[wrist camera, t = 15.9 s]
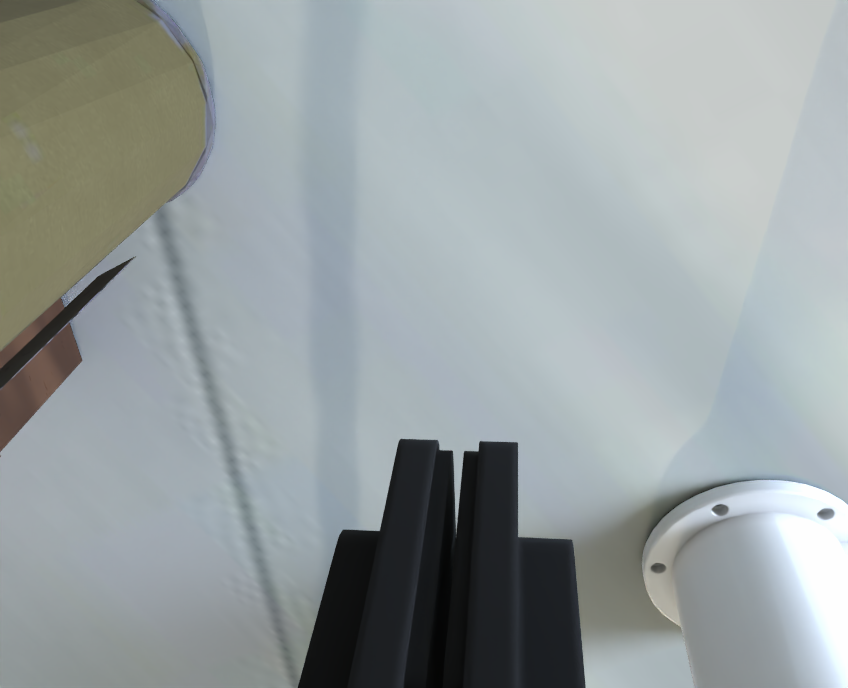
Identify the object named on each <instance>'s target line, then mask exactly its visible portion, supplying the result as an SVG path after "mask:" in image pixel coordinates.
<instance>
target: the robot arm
mask: <svg viewBox="0 0 848 688" xmlns="http://www.w3.org/2000/svg"><path fill="white" fill-rule="evenodd" d="M642 571H643V577H644V582H645V586H646V591H647V593H648V595H649V596H650V598H651V600H652V602H653V604H654V605H655V606H656V607H657V608H658V609H659V611H660V612H661V613H662V614H663V615H664V616H666V617H667V618H668V619H670V620H671V621H672V622H674V623H675V624H677V625H679V626H680V627H681V628H682V632H683V637H684V641H685V646H686V650H687V655H688V660H689V664H690V669H691V673H692V678H693V682H694V687H695V688H848V505H847V504H846V503H845V502H843V501H842V500H840V499H839V498H837V497H835V496H833V495H832V494H830V493H828V492H826V491H824V490H821V489H818V488H815V487H812V486H810V485H807V484H802V483H796V482H790V481H785V480H753V481H743V482H736V483H732V484H728V485H724V486H720V487H716V488H713V489H711V490H708V491H706V492H703V493H700V494H698V495H695V496H694V497H692V498H690V499H689V500H687V501H685V502H683V503H682V504H680V505H678V506H677V507H676V508H674V509H673V510H672V511H671V512H669V513H668V514H667V515H666V516H665V517H663V518H662V520H661V521H660V522H659V523H658V524H657V526H656V527H655V528H654V529H653V531H652V532H651V534H650V536H649V538H648V540H647V542H646V544H645V547H644V551H643V556H642ZM298 688H585V676H584V664H583V652H582V640H581V629H580V617H579V605H578V593H577V581H576V569H575V557H574V548H573V542H572V540H568V539H545V538H522V537H518V443H516V442H483V441H480V443H479V452H474V451H464V458H463V469H462V479H461V490H460V501H459V512H458V523H457V534H456V523H455V493H454V464H453V451H443V450H439V442H438V440H416V439H400V441H399V443H398V447H397V452H396V457H395V462H394V466H393V471H392V476H391V481H390V486H389V490H388V495H387V500H386V505H385V509H384V514H383V519H382V524H381V529H380V531H363V530H343V531H342V532H341V534H340V536H339V539H338V541H337V545H336V548H335V552H334V556H333V559H332V563H331V567H330V570H329V574H328V578H327V582H326V585H325V589H324V593H323V596H322V600H321V604H320V607H319V611H318V615H317V619H316V622H315V626H314V630H313V633H312V637H311V641H310V644H309V648H308V652H307V656H306V659H305V663H304V667H303V670H302V674H301V678H300V682H299V685H298Z"/></svg>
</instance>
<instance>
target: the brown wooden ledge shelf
mask: <svg viewBox="0 0 848 688" xmlns="http://www.w3.org/2000/svg"><path fill="white" fill-rule="evenodd" d="M63 309H64V305H63V302H62V299H61V298H59V299H58V300H57V301H56V302H55V303H54V304H53V305H52V306H51V307H50V308H48V309H47V310H46V311H45V312H44V313H43V314H42V315H41V316H40V317H38V318H37V319H36V320H35V321H34V322H33V323H32V324H31V325H30V326H28V327H27V328H26V329H25V330H24V331H23V332H22V333H21V334H20V335H18V336H17V337H16V338H15V339H14V340H13V341H12V342H11V343H10V344H8V345H7V346H6V347H5V348H4V349H3V350H2V351H1V352H0V369H1V368H2V367H3V366H4V365H5V364H6V363H7V362H8V361H9V360H10V359H11V358H12V357H13V356H14V355H16V354H17V353H18V352H19V351H20V350H21V349H22V348H23V347H24V346H25V345H26V344H27V343H28V342H29V341H30V340H31V339H33V338H34V337H35V336H36V335H37V334H38V333H39V332H40V331H41V330H42V329H43V328H44V327H45V326H46V325H47V324H48V323H49V322H51V321H52V320H53V319H54V318H55V317H56V316H57V315H58V314H59V313H60V312H61V311H62V310H63ZM81 361H82V359H81V356H80V353H79V350H78V347H77V344H76V341H75V338H74V335H73V332H72V329H71V326H70V323H68V324H67V325H66V326H65V327H64V328H63V329H62V330H61V331H60V332H59V333H58V334H57V335H56V336H55V337H54V338H53V339H52V340H51V341H50V342H49V343H48V344H47V345H46V346H45V347H44V348H43V349H42V350H41V351H40V352H39V353H38V354H36V355H35V356H34V357H33V358H32V359H31V360H30V361H29V362H28V363H27V364H26V365H25V366H24V367H23V368H22V369H21V370H20V371H19V372H18V373H17V374H16V375H15V376H14V377H13V378H12V379H11V380H10V381H9V382H8V383H7V384H6V385H5V386H4V387H3V388H2V389H1V390H0V452H1V451H2V449H3V448H4V447H5V446H6V445H7V444H8V443H9V442H10V441H11V439H12V438H13V437H14V436H15V435H16V434H17V433H18V432H19V431H20V429H21V428H22V427H23V426H24V425H25V424H26V423H27V422H28V420H29V419H30V418H31V417H32V416H33V415H34V414H35V413H36V412H37V410H38V409H39V408H40V407H41V406H42V405H43V404H44V403H45V402H46V400H47V399H48V398H49V397H50V396H51V395H52V394H53V393H54V392H55V390H56V389H57V388H58V387H59V386H60V385H61V384H62V383H63V381H64V380H65V379H66V378H67V377H68V376H69V375H70V374H71V373H72V371H73V370H74V369H75V368H76V367H77V366H78V365H79V364H80V363H81ZM0 457H1V456H0Z"/></svg>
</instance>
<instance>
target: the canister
mask: <svg viewBox="0 0 848 688" xmlns="http://www.w3.org/2000/svg"><path fill="white" fill-rule="evenodd" d="M215 127H216V120H215V106H214V102H213V97H212V93H211V89H210V85H209V81H208V78H207V75H206V72H205V69H204V66H203V63H202V61H201V59H200V58H199V56H198V55H197V53H196V52H195V50H194V49H193V48H192V46H191V45H190V43H189V42H188V40H187V39H186V37H185V36H184V34H183V33H182V31H181V30H180V28H179V27H178V26H177V25H176V23H175V22H174V21H173V20H172V19H171V18H170V16H169V15H168V14H167V13H166V12H164V11H163V10H162V9H161V8H160V7H159V6H157V5H156V4H155V3H154V2H153V1H152V0H0V352H1V351H2V350H3V349H4V348H5V347H6V346H7V345H8V344H10V343H11V342H12V341H13V340H14V339H15V338H16V337H17V336H18V335H20V334H21V333H22V332H23V331H24V330H25V329H26V328H27V327H28V326H30V325H31V324H32V323H33V322H34V321H35V320H36V319H37V318H38V317H40V316H41V315H42V314H43V313H44V312H45V311H46V310H47V309H48V308H50V307H51V306H52V305H53V304H54V303H55V302H56V301H57V300H58V299H59V298H61V297H62V296H63V295H64V294H65V293H66V292H67V291H68V290H69V289H71V288H72V287H73V286H74V285H75V284H76V283H77V282H78V281H79V280H81V279H82V278H83V277H84V276H85V275H86V274H87V273H88V272H89V271H91V270H92V269H93V268H94V267H95V266H96V265H97V264H98V263H99V262H101V261H102V260H103V259H104V258H105V257H106V256H107V255H108V254H109V253H110V252H112V251H113V250H114V249H115V248H116V247H117V246H118V245H119V244H120V243H122V242H123V241H124V240H125V239H126V238H127V237H128V236H129V235H130V234H132V233H133V232H134V231H135V230H136V229H137V228H138V227H139V226H140V225H142V224H143V223H144V222H145V221H146V220H147V219H148V218H149V217H150V216H151V215H153V214H154V213H155V212H156V211H157V210H158V209H159V208H160V207H161V206H163V205H164V204H165V203H167V202H170V201H172V200H174V199H175V198H177V197H178V196H180V195H181V194H182V193H184V192H185V191H186V190H187V189H188V188H189V187H190V186H191V185H192V184H193V183H194V182H195V181H196V180H197V178H198V177H199V176H200V174H201V173H202V171H203V168H204V166H205V164H206V162H207V160H208V157H209V155H210V153H211V150H212V148H213V142H214V134H215ZM135 257H136V256H135ZM135 257H133V258H131V259H130V260H128V261H126V262H124V263H122V264H120V265H118V266H116V267H115V268H113V269H111V270H109V271H107V272H105V273H103V274H101V275H100V276H98V277H97V278H96V279H95V280H94V281H93V282H92V283H91V284H90V285H89V286H88V287H87V288H85V289H84V290H83V291H82V292H81V293H80V294H79V295H78V296H77V297H76V298H75V299H74V300H73V301H72V302H71V303H70V304H69V305H67V306H66V307H65V308H64V309H63V310H62V311H61V312H60V313H59V314H58V315H57V316H56V317H55V318H54V319H53V320H52V321H51V322H49V323H48V324H47V325H46V326H45V327H44V328H43V329H42V330H41V331H40V332H39V333H38V334H37V335H36V336H35V337H34V338H33V339H31V340H30V341H29V342H28V343H27V344H26V345H25V346H24V347H23V348H22V349H21V350H20V351H19V352H18V353H17V354H16V355H14V356H13V357H12V358H11V359H10V360H9V361H8V362H7V363H6V364H5V365H4V366H3V367H2V368H1V369H0V390H1V389H2V388H3V387H4V386H5V385H6V384H7V383H8V382H9V381H10V380H11V379H12V378H13V377H14V376H15V375H16V374H17V373H18V372H19V371H20V370H21V369H22V368H23V367H24V366H25V365H26V364H27V363H28V362H29V361H30V360H31V359H32V358H33V357H34V356H35V355H36V354H38V353H39V352H40V351H41V350H42V349H43V348H44V347H45V346H46V345H47V344H48V343H49V342H50V341H51V340H52V339H53V338H54V337H55V336H56V335H57V334H58V333H59V332H60V331H61V330H62V329H63V328H64V327H65V326H66V325H67V324H68V323H69V322H70V321H71V320H72V319H73V318H74V317H75V316H76V315H77V314H78V313H79V312H80V311H81V310H82V309H83V308H84V307H85V306H86V305H87V304H88V303H89V302H90V301H91V300H92V299H93V298H94V297H95V296H96V295H97V294H98V293H100V292H101V291H102V290H103V289H104V288H105V287H106V286H107V285H108V284H109V283H110V282H111V281H112V280H113V279H114V278H115V277H116V276H117V275H118V274H119V273H120V272H121V271H122V270H123V269H124V268H125V267H126V266H127V265H128V264H129V263H130V262H131V261H132V260H133V259H134V258H135Z"/></svg>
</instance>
